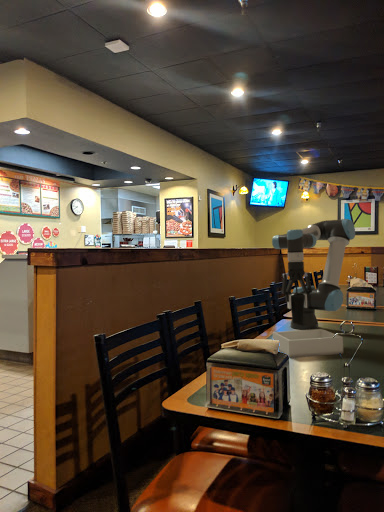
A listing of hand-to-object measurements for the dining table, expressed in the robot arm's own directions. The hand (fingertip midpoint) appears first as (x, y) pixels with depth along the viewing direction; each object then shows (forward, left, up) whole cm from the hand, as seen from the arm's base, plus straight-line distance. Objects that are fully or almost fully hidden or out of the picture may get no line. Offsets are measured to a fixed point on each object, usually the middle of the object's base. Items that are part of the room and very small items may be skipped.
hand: (297, 307), depth 195 cm
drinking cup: (0, 0, -7) cm, 7 cm away
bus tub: (+5, +20, -16) cm, 26 cm away
